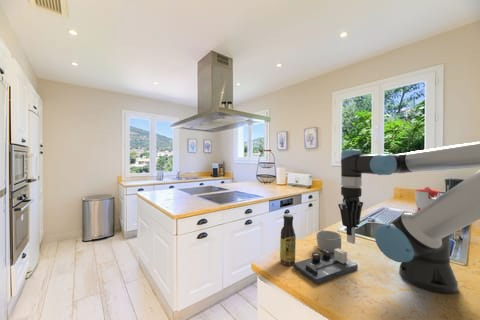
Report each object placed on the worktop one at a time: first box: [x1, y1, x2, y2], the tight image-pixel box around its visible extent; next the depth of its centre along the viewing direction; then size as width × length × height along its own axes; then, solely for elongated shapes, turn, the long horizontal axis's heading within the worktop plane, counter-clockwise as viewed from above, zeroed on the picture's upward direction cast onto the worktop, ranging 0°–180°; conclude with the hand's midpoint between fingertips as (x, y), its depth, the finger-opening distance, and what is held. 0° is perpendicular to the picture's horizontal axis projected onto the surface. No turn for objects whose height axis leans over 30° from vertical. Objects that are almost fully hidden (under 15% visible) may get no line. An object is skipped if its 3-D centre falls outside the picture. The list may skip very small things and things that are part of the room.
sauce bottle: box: [279, 214, 297, 266], centre depth 85 cm, size 6×6×20 cm
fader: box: [334, 248, 348, 263], centre depth 81 cm, size 4×2×4 cm, turn 26°
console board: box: [292, 250, 359, 286], centre depth 80 cm, size 12×22×4 cm, turn 116°
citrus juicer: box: [414, 186, 442, 211], centre depth 164 cm, size 16×17×20 cm
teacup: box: [315, 229, 342, 253], centre depth 96 cm, size 14×11×8 cm
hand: (350, 242), depth 85 cm, fingers closed
